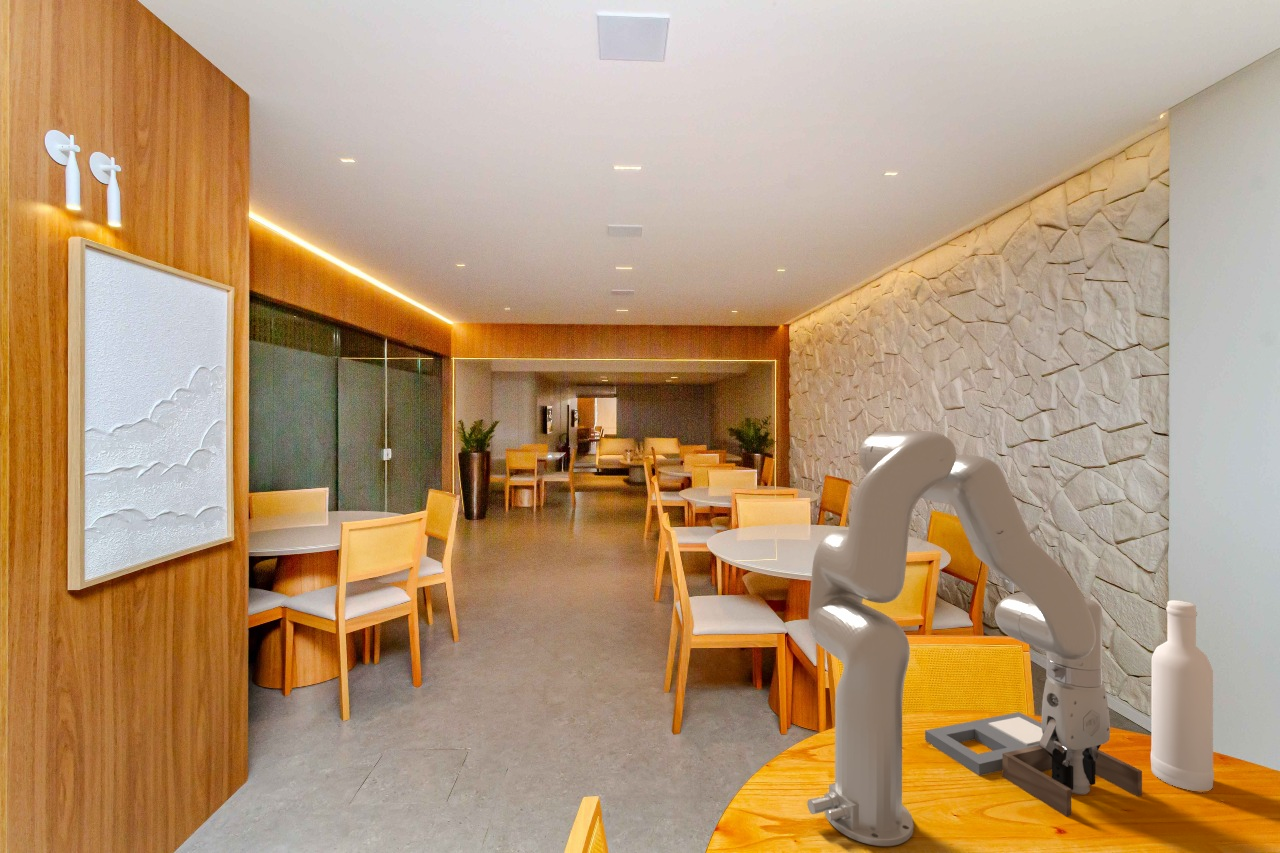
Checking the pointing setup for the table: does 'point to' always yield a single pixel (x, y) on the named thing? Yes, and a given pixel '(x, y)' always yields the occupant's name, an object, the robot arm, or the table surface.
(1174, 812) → the table surface
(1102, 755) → the walnut pen
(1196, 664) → the bottle
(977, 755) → the hole board
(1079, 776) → the rook chess piece
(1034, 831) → the table surface
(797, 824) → the table surface
